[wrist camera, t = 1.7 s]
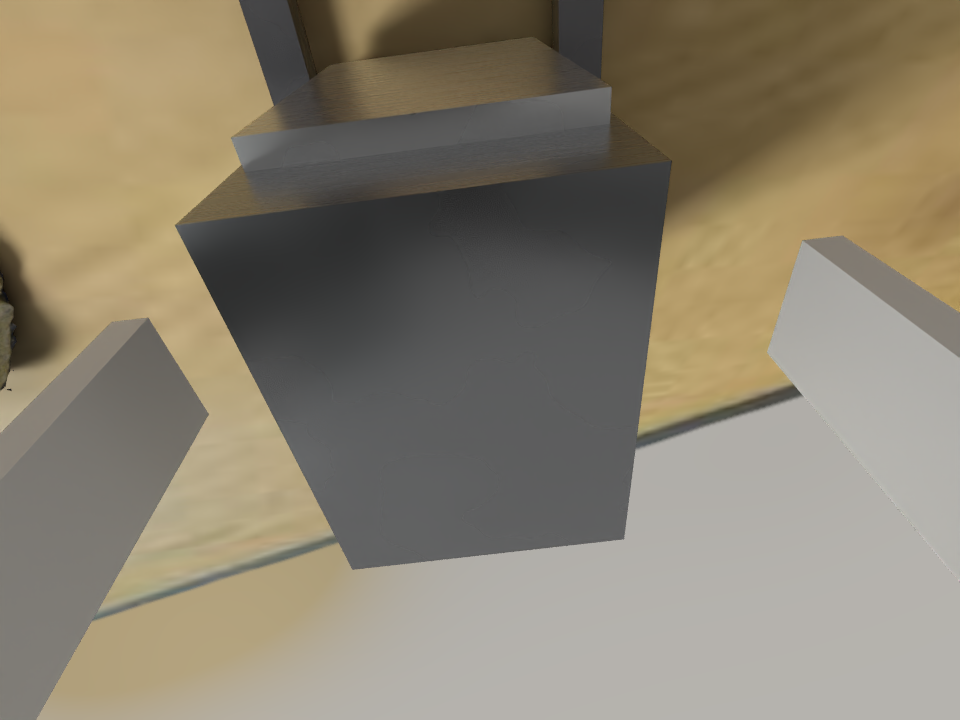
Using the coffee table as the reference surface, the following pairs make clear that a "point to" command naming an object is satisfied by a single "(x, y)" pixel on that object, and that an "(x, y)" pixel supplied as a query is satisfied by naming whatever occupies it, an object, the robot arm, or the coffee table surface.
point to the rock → (5, 335)
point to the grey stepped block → (445, 296)
